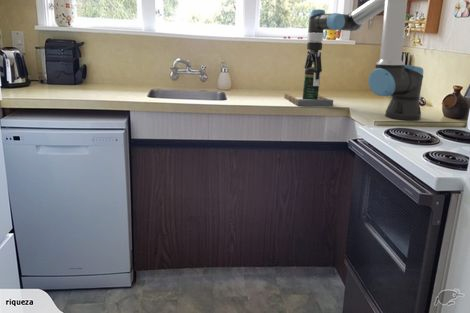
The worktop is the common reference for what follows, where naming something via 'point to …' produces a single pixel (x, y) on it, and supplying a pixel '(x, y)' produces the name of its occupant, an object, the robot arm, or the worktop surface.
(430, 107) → the worktop surface
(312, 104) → the end stop
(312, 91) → the coffee jar
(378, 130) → the worktop surface
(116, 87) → the worktop surface
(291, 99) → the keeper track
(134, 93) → the worktop surface
